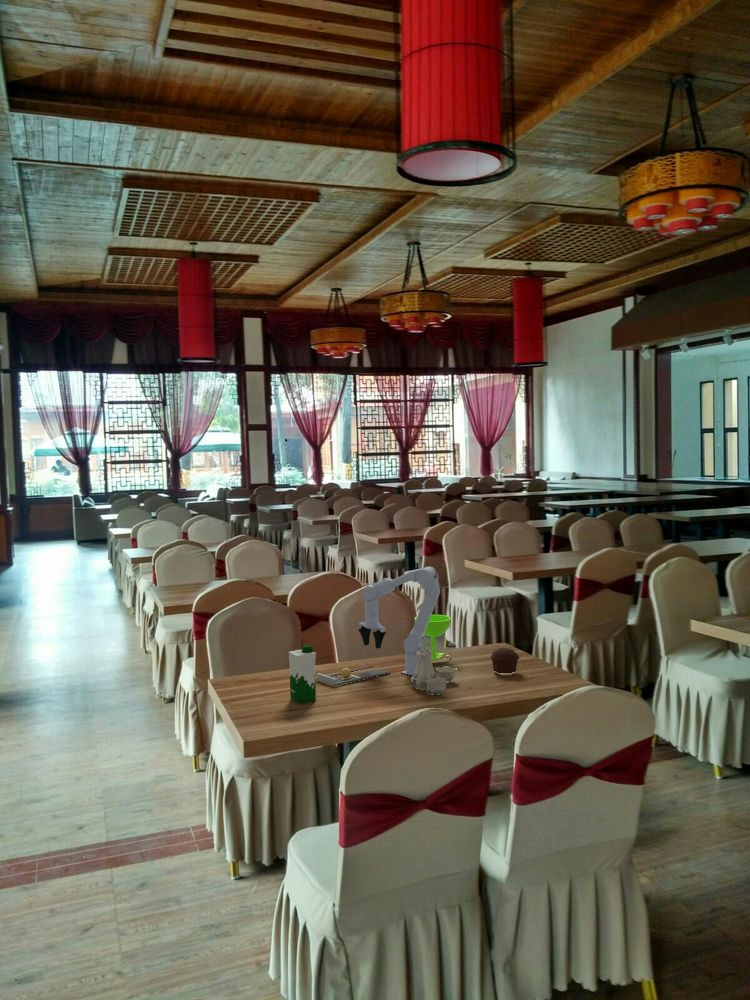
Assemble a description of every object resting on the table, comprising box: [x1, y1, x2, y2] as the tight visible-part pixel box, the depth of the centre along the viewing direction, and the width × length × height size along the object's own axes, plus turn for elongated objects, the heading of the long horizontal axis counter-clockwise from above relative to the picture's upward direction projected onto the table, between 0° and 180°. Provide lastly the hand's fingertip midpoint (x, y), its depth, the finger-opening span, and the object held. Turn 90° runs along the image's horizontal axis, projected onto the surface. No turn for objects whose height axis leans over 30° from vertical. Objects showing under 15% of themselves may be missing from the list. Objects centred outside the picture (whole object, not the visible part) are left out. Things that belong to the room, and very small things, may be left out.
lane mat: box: [316, 665, 391, 687], centre depth 327 cm, size 12×28×3 cm, turn 129°
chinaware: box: [410, 645, 458, 696], centre depth 310 cm, size 28×17×17 cm, turn 168°
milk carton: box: [288, 644, 317, 705], centre depth 297 cm, size 9×9×20 cm
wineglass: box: [414, 614, 452, 661], centre depth 355 cm, size 16×16×18 cm
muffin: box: [490, 647, 520, 673], centre depth 330 cm, size 12×11×10 cm
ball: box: [340, 667, 351, 678], centre depth 325 cm, size 4×4×4 cm
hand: (372, 646), depth 338 cm, fingers open, 7 cm apart
